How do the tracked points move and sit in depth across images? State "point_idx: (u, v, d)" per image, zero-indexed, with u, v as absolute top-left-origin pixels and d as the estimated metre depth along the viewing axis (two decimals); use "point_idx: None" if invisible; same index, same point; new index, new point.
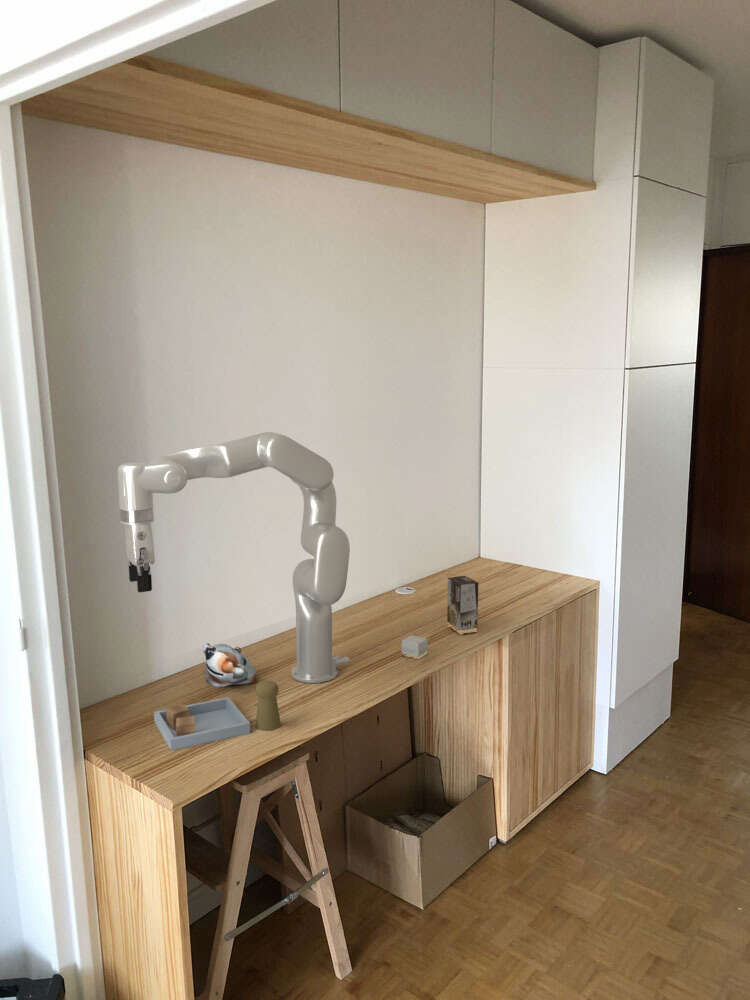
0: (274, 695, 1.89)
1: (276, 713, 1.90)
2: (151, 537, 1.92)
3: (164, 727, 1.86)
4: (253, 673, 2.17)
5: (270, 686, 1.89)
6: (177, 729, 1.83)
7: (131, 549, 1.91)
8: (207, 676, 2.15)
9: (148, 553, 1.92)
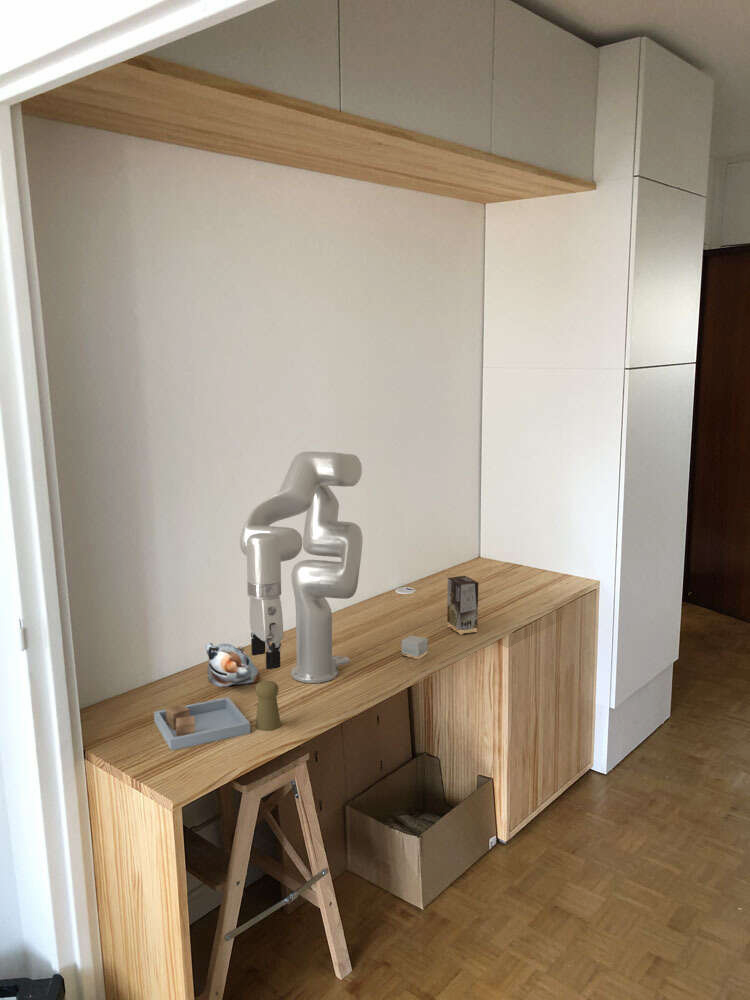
0: (274, 695, 1.89)
1: (276, 713, 1.90)
2: (281, 612, 1.84)
3: (164, 727, 1.86)
4: (256, 672, 2.17)
5: (270, 686, 1.89)
6: (177, 729, 1.83)
7: (260, 624, 1.83)
8: (210, 676, 2.16)
9: (278, 628, 1.84)
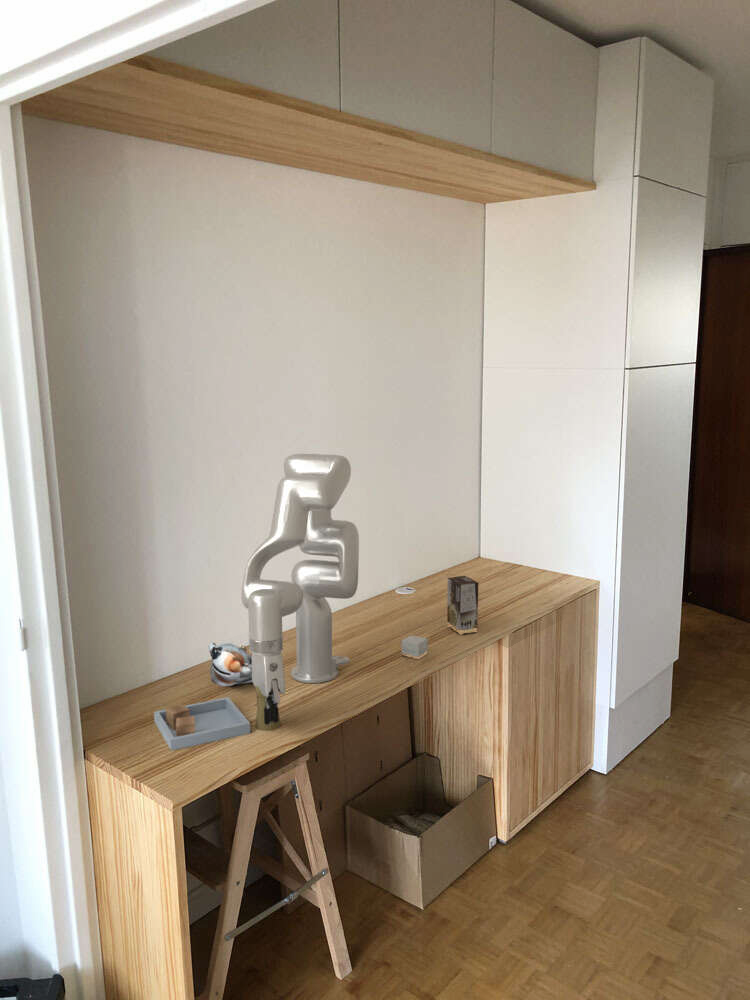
0: None
1: None
2: (282, 667, 1.86)
3: (164, 727, 1.86)
4: None
5: None
6: (177, 729, 1.83)
7: (262, 680, 1.86)
8: (213, 676, 2.16)
9: (279, 684, 1.86)
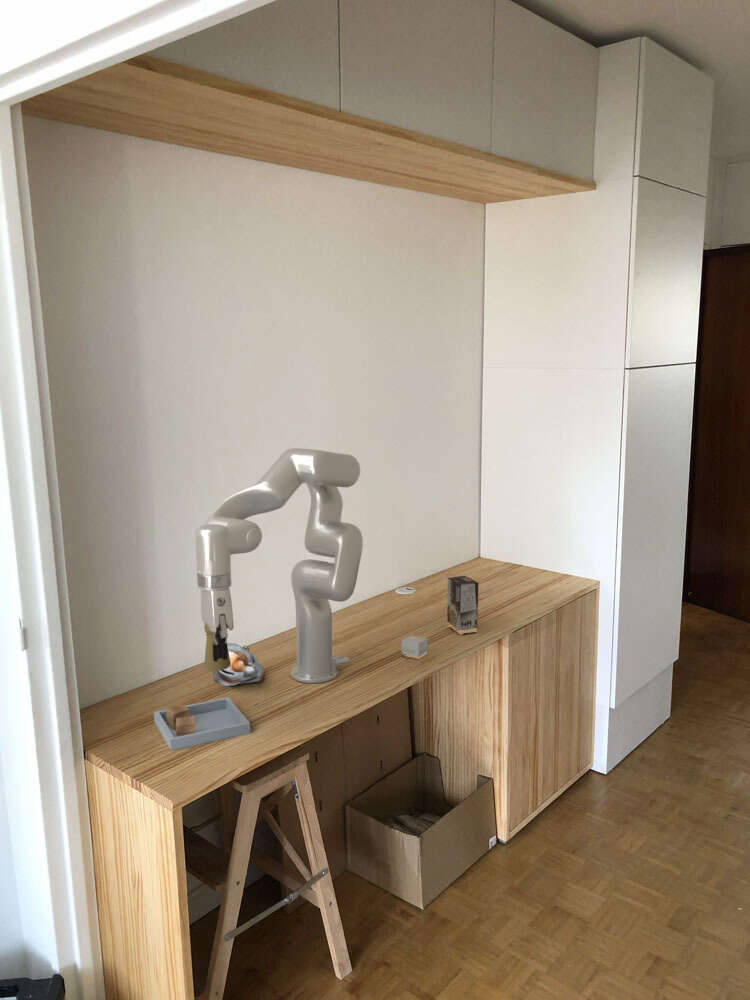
0: None
1: None
2: (230, 603, 1.84)
3: (164, 727, 1.86)
4: (262, 671, 2.18)
5: None
6: (177, 729, 1.83)
7: (210, 615, 1.84)
8: (216, 675, 2.16)
9: (227, 619, 1.84)
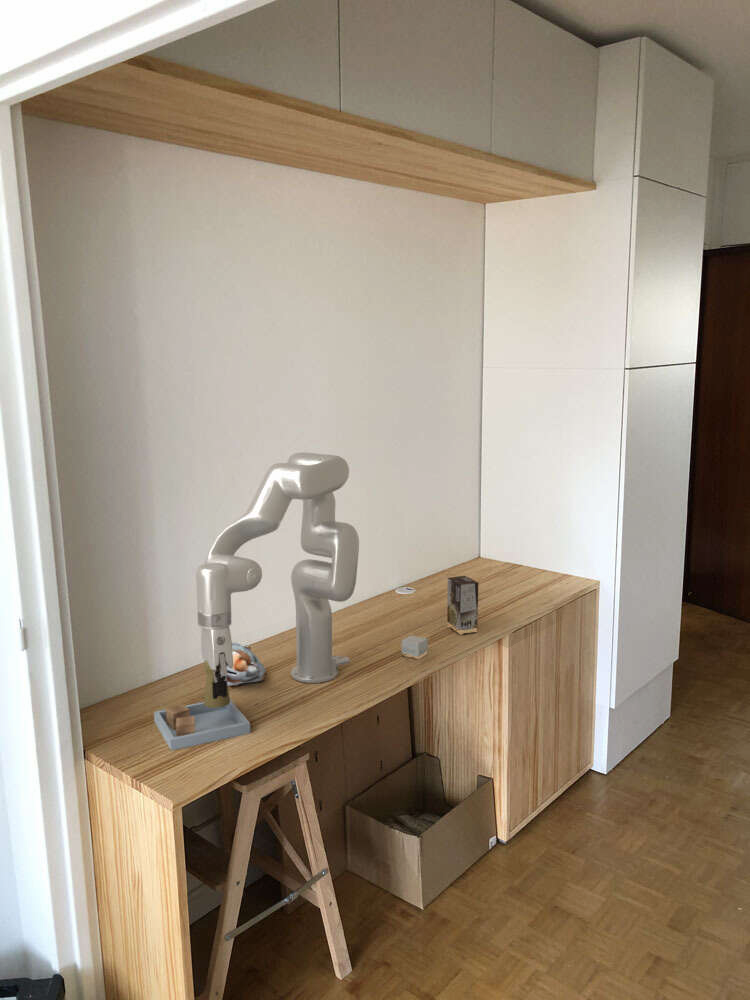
0: None
1: None
2: (230, 641, 1.86)
3: (164, 727, 1.86)
4: (264, 671, 2.19)
5: None
6: (177, 729, 1.83)
7: (210, 654, 1.86)
8: None
9: (227, 658, 1.86)
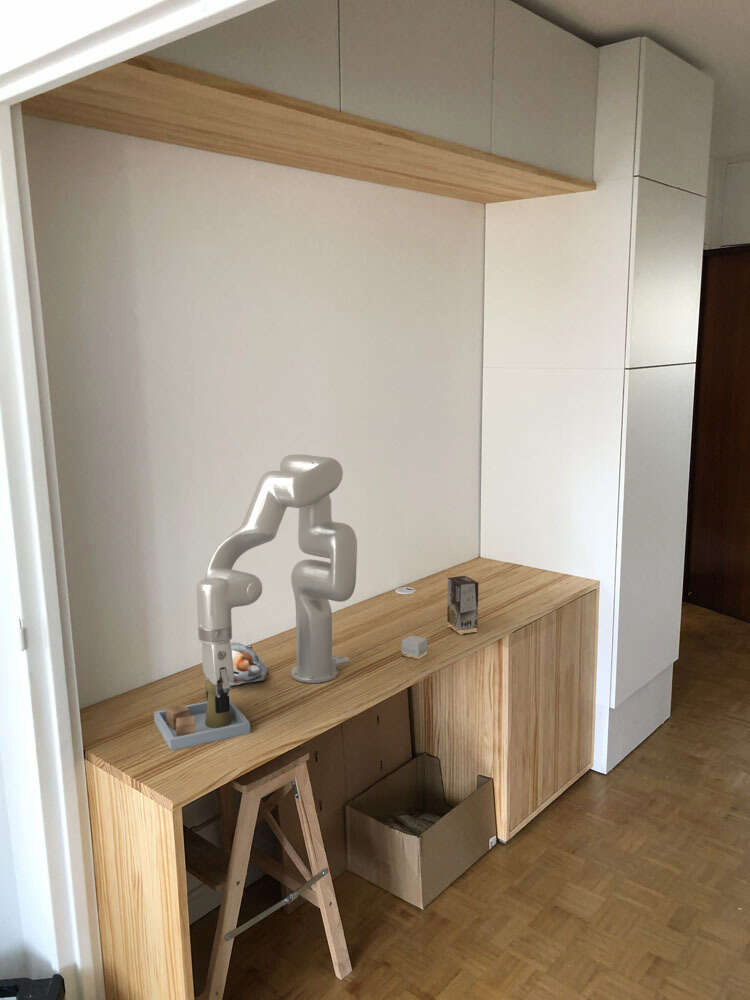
0: None
1: None
2: (231, 656, 1.87)
3: (164, 727, 1.86)
4: (266, 670, 2.19)
5: (219, 681, 1.90)
6: (177, 729, 1.83)
7: (210, 668, 1.86)
8: None
9: (228, 672, 1.87)
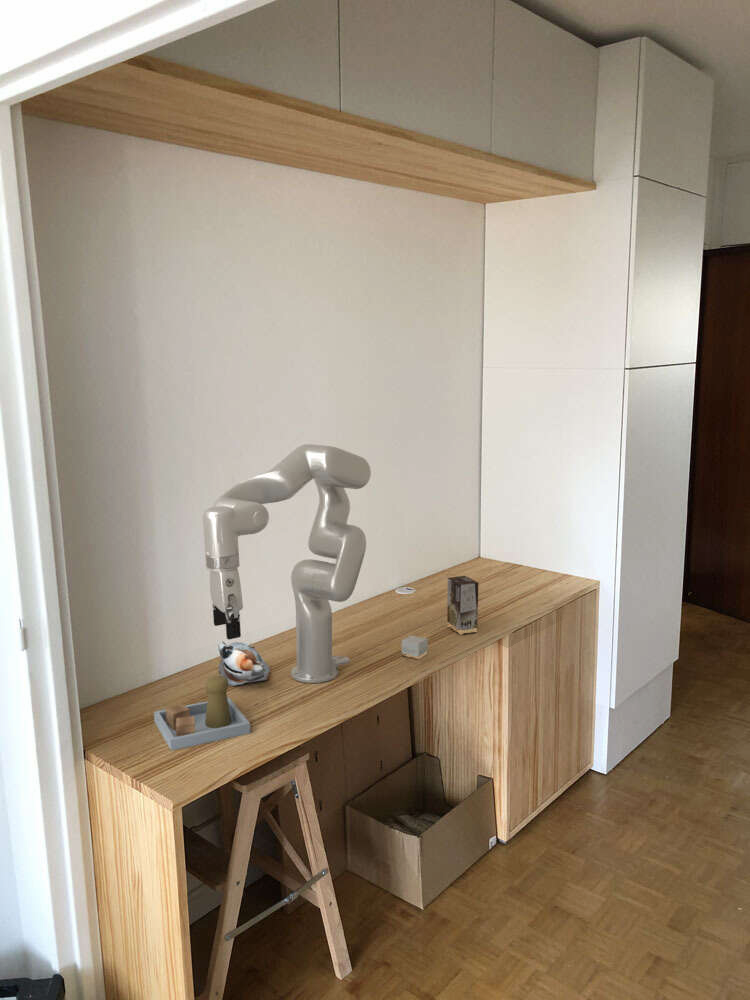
0: (223, 690, 1.90)
1: (226, 708, 1.92)
2: (239, 583, 1.88)
3: (164, 727, 1.86)
4: (268, 670, 2.19)
5: (219, 681, 1.90)
6: (177, 729, 1.83)
7: (219, 596, 1.87)
8: (223, 675, 2.16)
9: (236, 599, 1.87)
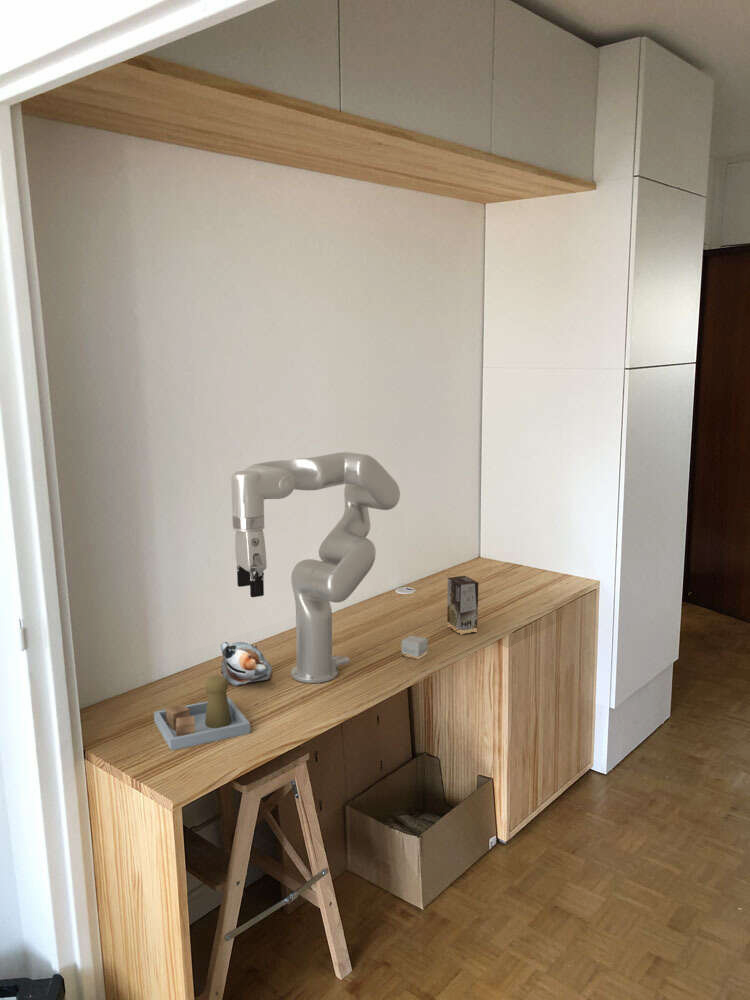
0: (223, 690, 1.90)
1: (226, 708, 1.92)
2: (264, 543, 1.97)
3: (164, 727, 1.86)
4: (271, 669, 2.20)
5: (219, 681, 1.90)
6: (177, 729, 1.83)
7: (244, 555, 1.96)
8: (226, 675, 2.16)
9: (261, 559, 1.96)
